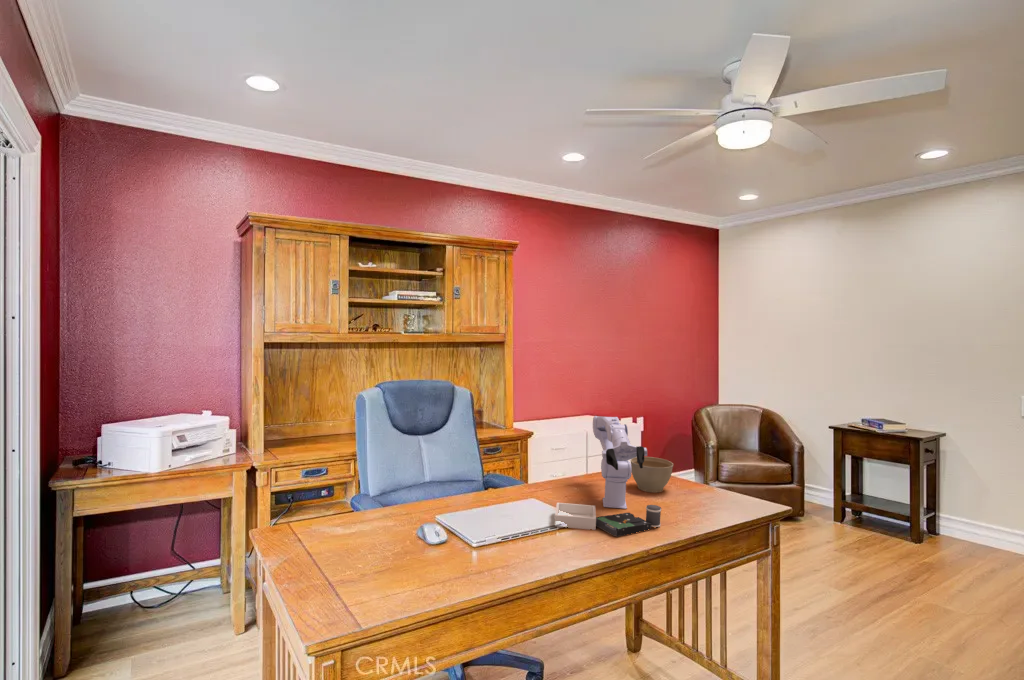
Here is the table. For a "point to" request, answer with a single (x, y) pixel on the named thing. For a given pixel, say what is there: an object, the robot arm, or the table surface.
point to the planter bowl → (651, 473)
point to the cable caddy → (577, 515)
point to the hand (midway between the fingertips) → (629, 466)
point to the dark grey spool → (653, 515)
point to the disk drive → (622, 524)
